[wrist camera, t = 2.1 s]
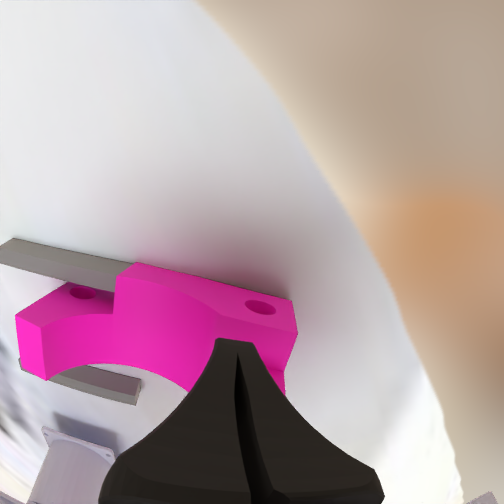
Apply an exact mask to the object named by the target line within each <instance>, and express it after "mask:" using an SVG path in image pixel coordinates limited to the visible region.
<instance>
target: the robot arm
mask: <svg viewBox="0 0 504 504" xmlns="http://www.w3.org/2000/svg"><path fill="white" fill-rule="evenodd" d="M41 430H42V433H43V435H44V437H45V439H46V442H47V444H48V446H49V450H48V452H47V455H46V457H45V459H44V462H43V464H42V467H41V469H40V472H39V474H38V477H37V479H36V482H35V484H34V487H33V489H32V492H31V495H30V497H29V500H28V501H27V503H26V504H381V503H382V501H383V500H384V497H385V495H384V492H383V489H382V486H381V483H380V480H379V478H378V476H377V474H376V472H375V470H374V469H373V468H371V467H369V466H367V465H365V464H364V463H362V462H360V461H358V460H357V459H355V458H353V457H351V456H350V455H348V454H347V453H345V452H344V451H342V450H341V449H339V448H338V447H337V446H335V445H334V444H332V443H331V442H330V441H329V440H327V439H326V438H325V437H324V436H323V435H321V434H320V433H319V432H318V431H317V430H316V429H314V428H313V427H312V426H311V425H310V424H309V423H308V422H307V421H306V420H305V419H304V418H303V417H302V416H301V415H300V414H299V413H298V411H297V410H296V409H295V408H294V407H293V406H292V404H291V403H290V402H289V401H288V399H287V398H286V397H285V395H284V394H283V393H282V391H281V390H280V388H279V387H278V385H277V384H276V382H275V381H274V379H273V378H272V376H271V374H270V373H269V371H268V370H267V368H266V366H265V364H264V362H263V361H262V359H261V357H260V355H259V353H258V351H257V349H256V347H255V345H254V344H253V342H247V341H240V340H233V339H226V338H220V337H219V338H217V339H215V343H214V348H213V351H212V354H211V356H210V358H209V361H208V362H207V364H206V366H205V368H204V370H203V372H202V374H201V375H200V377H199V378H198V380H197V381H196V383H195V384H194V386H193V387H192V389H191V390H190V392H189V393H188V394H187V396H186V397H185V398H184V399H183V401H182V402H181V403H180V404H179V405H178V406H177V408H176V409H175V410H174V411H173V412H172V413H171V414H170V415H169V416H168V417H167V418H166V419H165V420H164V421H163V422H162V423H161V424H160V425H159V426H157V427H156V428H155V429H154V430H153V431H152V432H150V433H149V434H148V435H147V436H146V437H145V438H143V439H142V440H141V441H139V442H138V443H136V444H135V445H133V446H132V447H130V448H129V449H128V450H126V451H125V452H123V453H122V454H120V455H119V456H118V458H117V459H116V460H115V456H114V452H113V450H112V449H110V448H107V447H104V446H100V445H97V444H93V443H90V442H87V441H84V440H81V439H78V438H75V437H72V436H69V435H66V434H63V433H61V432H58V431H55V430H53V429H50V428H47V427H45V426H43V427H42V428H41ZM0 504H24V503H22V502H20V501H18V500H16V499H14V498H12V497H10V496H9V495H7V494H5V493H3V492H1V491H0ZM467 504H498V503H497V501H496V499H495V497H494V495H493V493H492V492H491V491H490V492H487V493H486V494H483V495H481V496H479V497H477V498H475V499H473V500H472V501H470V502H469V503H467Z"/></svg>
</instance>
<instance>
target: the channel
mask: <svg viewBox="0 0 504 504" xmlns="http://www.w3.org/2000/svg"><path fill="white" fill-rule="evenodd" d="M0 263H1V264H4V265H8V266H11V267H15V268H18V269H22V270H26V271H29V272H33V273H37V274H40V275H44V276H48V277H52V278H56V279H60V280H64V281H68V282H72V283H76V284H80V285H84V286H89V287H93V288H97V289H102V290H106V291H110V292H115V285H116V276H117V275H119V274H120V273H121V272H123V271H124V270H126V269H127V268H128V267H130V266H131V265H133V264H131V263H126V262H121V261H116V260H111V259H106V258H101V257H97V256H92V255H87V254H82V253H77V252H73V251H68V250H63V249H59V248H54V247H50V246H45V245H41V244H36V243H32V242H28V241H23V240H19V239H15V238H12V239H11V240H9V241H7V242H6V243H4V244H2V245H1V246H0ZM18 360H19V364H20V367H21V370H23V371H25V372H28V373H31V372H29V371H27V370H25V369H24V368H22V365H21V359H20V358H19V359H18ZM31 374H33V373H31ZM33 375H34V374H33ZM49 381H52V382H55V383H58V384H61V385H64V386H67V387H70V388H73V389H76V390H79V391H82V392H86V393H89V394H92V395H96V396H99V397H103V398H107V399H110V400H114V401H118V402H122V403H126V404H130V405H135V406H136V402H137V399H138V396H139V392H140V389H141V387H140V379H137V378H133V377H128V376H124V375H120V374H116V373H112V372H108V371H104V370H101V369H97V368H93V367H90V366H86V365H82V366H77V367H73V368H70V369H67V370H65V371H62V372H60V373H58V374H56V375H55V376H53V377H51V378H50V379H49Z"/></svg>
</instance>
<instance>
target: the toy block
mask: <svg viewBox="0 0 504 504" xmlns="http://www.w3.org/2000/svg"><path fill="white" fill-rule="evenodd" d="M15 320H16V330H17V338H18V346H19V353H20V359H21V365H22V368H24V369H25V370H27V371H29V372H31V373H33V374H34V375H36V376H38V377H40V378H42V379H44V380H45V381H47V380H49V379H50V378H51V377H53V376H55V375H56V374H58V373H60V372H62V371H65V370H67V369H70V368H73V367H77V366H82V365H88V364H101V363H106V364H121V365H128V366H132V367H137V368H141V369H145V370H148V371H151V372H153V373H156V374H158V375H161V376H163V377H165V378H167V379H169V380H171V381H173V382H174V383H176V384H178V385H179V386H181V387H182V388H184V389H185V390H186V391H187V392H190V390H191V389H192V387H193V386H194V384H195V383H196V381H197V380H198V378H199V377H200V375H201V374H202V372H203V370H204V368H205V366H206V364H207V362H208V361H209V358H210V356H211V354H212V351H213V348H214V343H215V339H217V338H219V337H220V338H226V339H233V340H240V341H247V342H253V344H254V345H255V347H256V349H257V351H258V353H259V355H260V357H261V359H262V361H263V362H264V364H265V366H266V368H267V370H268V371H269V373H270V374H271V376H272V378H273V379H274V381H275V382H276V384H277V385H278V387H279V388H280V390H281V391H282V393H283V394H284V395H285V382H284V370H285V367H286V364H287V362H288V359H289V357H290V354H291V351H292V349H293V346H294V343H295V340H296V338H297V335H298V331H297V326H296V320H295V315H294V310H293V305H292V301H290V300H286V299H282V298H278V297H274V296H270V295H266V294H262V293H258V292H254V291H250V290H246V289H243V288H239V287H235V286H231V285H227V284H224V283H220V282H216V281H212V280H209V279H205V278H201V277H198V276H193V275H189V274H184V273H180V272H176V271H171V270H167V269H163V268H159V267H155V266H150V265H146V264H142V263H138V262H136V263H134V264H133V265H131V266H130V267H128V268H127V269H126V270H124V271H123V272H121V273H120V274H119V275H117V276H116V285H115V292H110V291H106V290H102V289H97V288H93V287H89V286H84V285H80V284H76V283H72V282H67V283H66V284H64V285H62V286H61V287H59V288H57V289H56V290H54V291H52V292H51V293H49V294H47V295H46V296H44V297H43V298H41V299H39V300H38V301H36V302H35V303H33V304H31V305H30V306H28V307H27V308H25V309H23V310H22V311H20V312H19V313H17V314H16V315H15ZM285 397H286V396H285Z"/></svg>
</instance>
